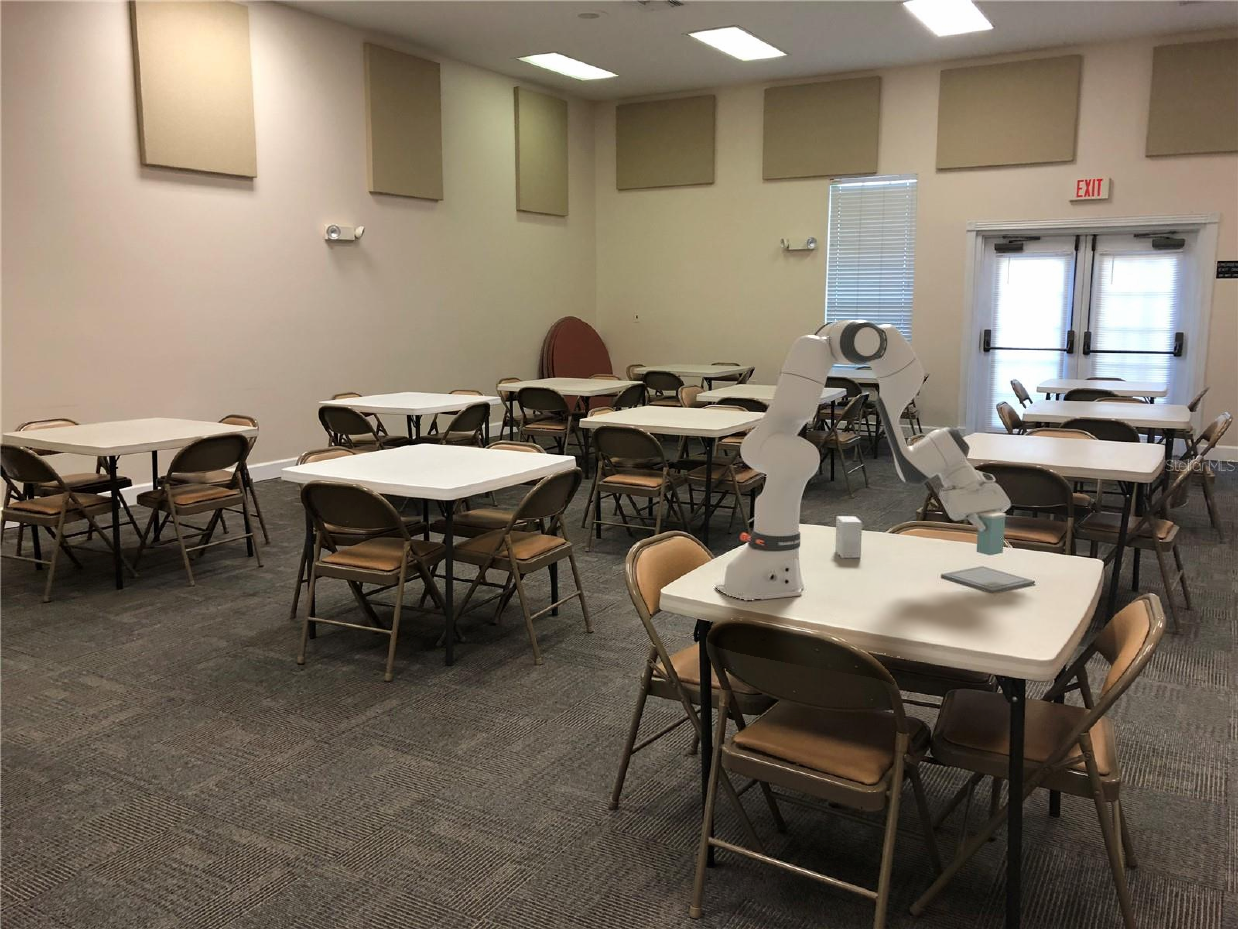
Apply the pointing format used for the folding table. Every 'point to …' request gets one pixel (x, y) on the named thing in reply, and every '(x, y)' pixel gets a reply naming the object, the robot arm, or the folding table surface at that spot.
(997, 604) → the folding table surface
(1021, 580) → the plate
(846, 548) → the small box
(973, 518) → the robot arm
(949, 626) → the folding table surface
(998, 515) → the teal tin
